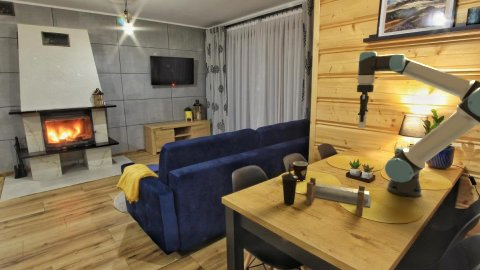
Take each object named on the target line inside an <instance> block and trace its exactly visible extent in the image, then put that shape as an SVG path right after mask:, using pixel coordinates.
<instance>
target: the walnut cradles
mask: <svg viewBox="0 0 480 270" xmlns="http://www.w3.org/2000/svg"><path fill="white" fill-rule="evenodd" d="M309 179H310V180H309V181H307V182H306V192H305V196H306V197H305V204H306V206H313V203H314V201H316V197H315V186H316V183H317V178H316V177H310V178H309ZM358 185H359V186H358V189H357V190H358V196H357V205H356V208H355V209H356V210H355V212H356V213H355V215H356V216H359V217H363V212H364V206H363V204H364V193H365V191H366V185H363V184H358Z"/></svg>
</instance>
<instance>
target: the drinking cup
mask: <svg viewBox="0 0 480 270" xmlns="http://www.w3.org/2000/svg"><path fill="white" fill-rule="evenodd" d="M291 167H292V165H291V163H289V164H288V170H289V171H288V172H287V173H284V174H282V175H281V179H282V193H283V203H284V205H286V206H293V205H295V200H296V192H297V183H298V181H297V179H298V176H297V175H294V173H292V174H291V172H292V171H291V169H292V168H291Z"/></svg>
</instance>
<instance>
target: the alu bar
mask: <svg viewBox="0 0 480 270" xmlns="http://www.w3.org/2000/svg"><path fill="white" fill-rule="evenodd" d="M358 190H359V189H358V188H350V187H344V186H338V185H332V184H326V183H320V182H316V186H315V193H319V194H325V195H330V196H336V197H341V198H347V199H352V200H357V196H358ZM369 196H370V191H368V190H365V193H364V202H368V199H369Z"/></svg>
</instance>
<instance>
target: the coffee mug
mask: <svg viewBox="0 0 480 270" xmlns="http://www.w3.org/2000/svg"><path fill="white" fill-rule="evenodd" d="M308 165H309V164H308V162H307V161H301V160H299V161H298V160H297V161H293V163H292V166H291V169H293V173H291V172H290V173H291V174H294V175H297V176H298V179H297V180H300V181H299V182H304V181H303V180H305V181H306V180H307V179H306V178H307V172H308ZM288 172H289V169H288Z"/></svg>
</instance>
